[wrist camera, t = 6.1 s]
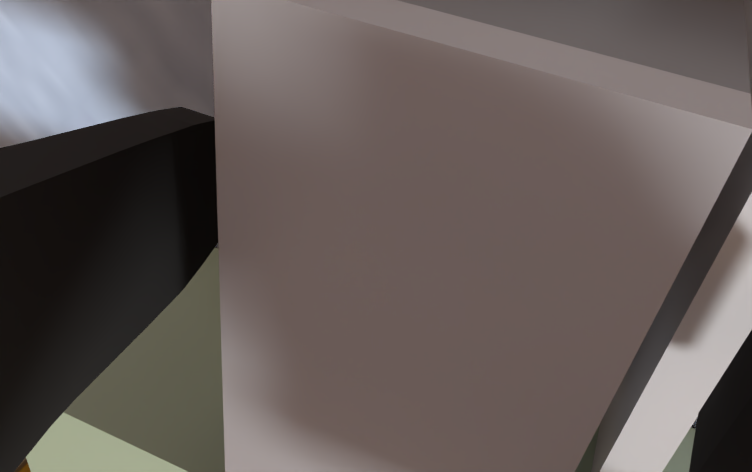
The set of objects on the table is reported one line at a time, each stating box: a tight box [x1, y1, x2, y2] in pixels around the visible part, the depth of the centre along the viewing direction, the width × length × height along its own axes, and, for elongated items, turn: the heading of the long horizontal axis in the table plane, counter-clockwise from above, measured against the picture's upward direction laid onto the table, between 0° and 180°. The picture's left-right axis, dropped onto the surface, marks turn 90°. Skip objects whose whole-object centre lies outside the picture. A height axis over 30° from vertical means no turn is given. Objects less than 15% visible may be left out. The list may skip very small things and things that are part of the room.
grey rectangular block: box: [211, 0, 752, 472], centre depth 9 cm, size 7×4×5 cm, turn 173°
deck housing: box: [26, 0, 752, 472], centre depth 12 cm, size 18×14×5 cm
